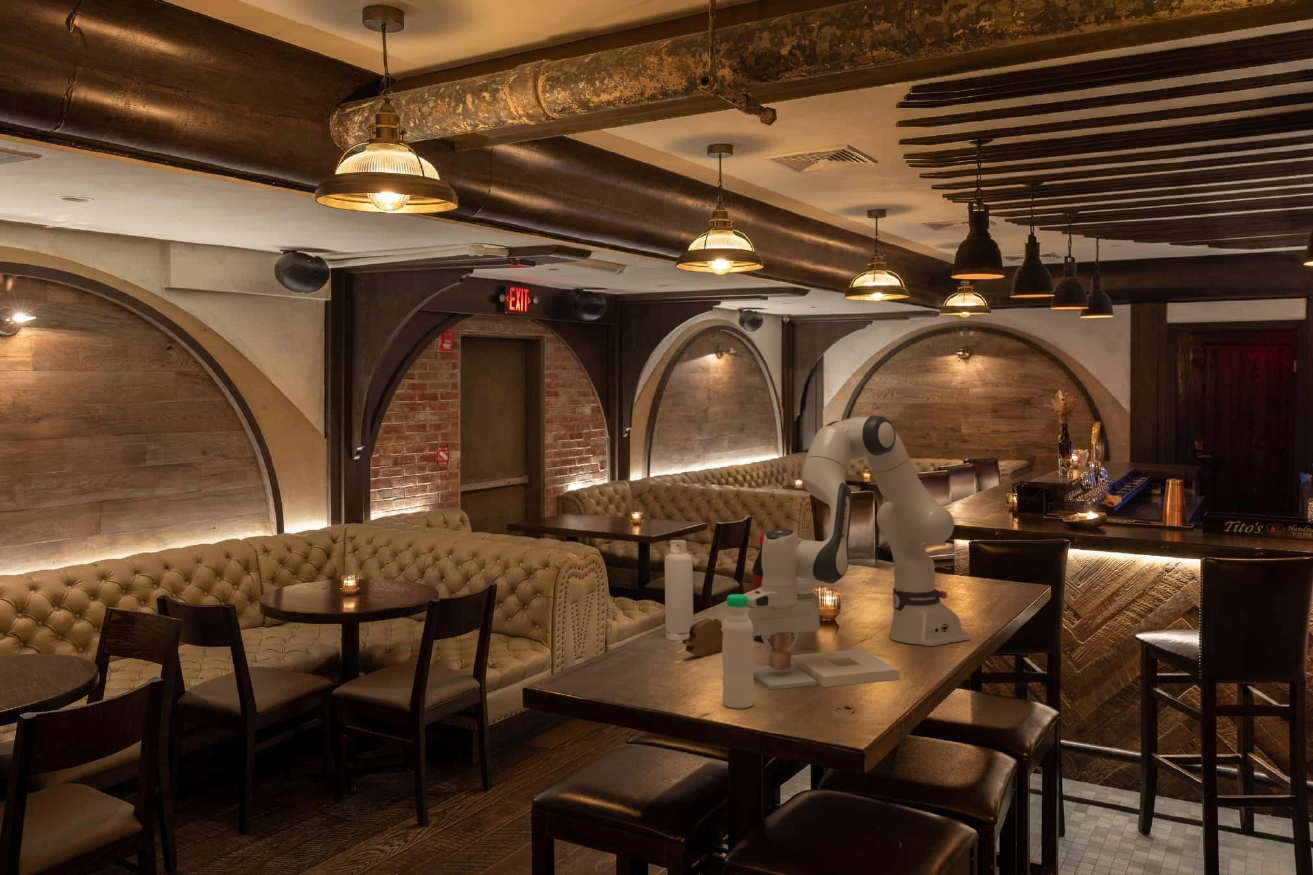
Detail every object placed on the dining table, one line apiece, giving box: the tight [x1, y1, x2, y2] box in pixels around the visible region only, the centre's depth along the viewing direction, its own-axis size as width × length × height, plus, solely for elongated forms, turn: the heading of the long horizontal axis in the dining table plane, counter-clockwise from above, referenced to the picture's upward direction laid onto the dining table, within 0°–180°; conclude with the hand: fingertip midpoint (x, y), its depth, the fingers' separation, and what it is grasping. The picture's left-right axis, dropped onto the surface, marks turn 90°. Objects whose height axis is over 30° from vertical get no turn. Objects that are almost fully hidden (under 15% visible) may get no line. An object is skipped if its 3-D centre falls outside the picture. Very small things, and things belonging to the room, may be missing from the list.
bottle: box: [664, 539, 694, 641], centre depth 283 cm, size 8×8×28 cm
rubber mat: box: [753, 664, 818, 691], centre depth 241 cm, size 12×16×1 cm
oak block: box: [769, 632, 792, 670], centre depth 241 cm, size 4×4×9 cm
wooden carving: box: [681, 618, 723, 658], centre depth 263 cm, size 16×5×10 cm, turn 138°
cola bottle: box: [751, 534, 770, 643], centre depth 278 cm, size 8×8×30 cm
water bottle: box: [721, 593, 755, 710], centre depth 221 cm, size 7×7×25 cm
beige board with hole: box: [791, 648, 900, 688], centre depth 246 cm, size 20×20×2 cm
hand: (780, 650), depth 241 cm, fingers closed on oak block, 4 cm apart
